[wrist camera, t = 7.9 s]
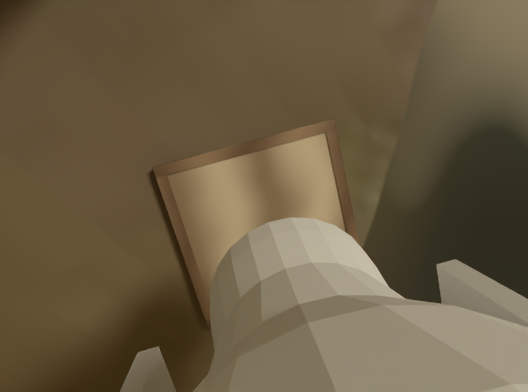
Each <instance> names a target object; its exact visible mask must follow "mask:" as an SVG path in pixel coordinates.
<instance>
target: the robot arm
mask: <svg viewBox="0 0 528 392" xmlns="http://www.w3.org/2000/svg"><path fill="white" fill-rule="evenodd" d="M437 271H438V279H439V286H440V292H441V299H442V304H446V305H454V306H458V307H461V308H465V309H468V310H471V311H475V312H478V313H482V314H485V315H489V316H492V317H496V318H499V319H502V320H506V321H509V322H513V323H516V324H519V325H522V326H525V327H527V328H528V299H526V298H524V297H523V296H521V295H519V294H517V293H515V292H514V291H512V290H510V289H508V288H506V287H505V286H503V285H501V284H499V283H497V282H496V281H494V280H492V279H490V278H488V277H486V276H485V275H483V274H481V273H479V272H478V271H476V270H474V269H472V268H470V267H469V266H467V265H465V264H463V263H461V262H460V261H458V260H456V259H455V260H451V261H448V262H445V263H441V264H438V265H437ZM120 392H176V390H175V387H174V385H173V382H172V379H171V377H170V374H169V372H168V369H167V367H166V364H165V362H164V359H163V357H162V354H161V351H160V349H159V346H158V347H154V348H151V349H147V350H144V351H140V352H138V353H137V355H136V357H135V359H134V362H133V364H132V366H131V368H130V370H129V373H128V375H127V377H126V379H125V381H124V383H123V386H122V388H121V390H120Z"/></svg>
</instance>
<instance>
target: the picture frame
mask: <svg viewBox="0 0 528 392" xmlns="http://www.w3.org/2000/svg"><path fill="white" fill-rule="evenodd" d="M153 171H154V174H155V177H156V179H157V182H158V185H159V188H160V191H161V194H162V197H163V200H164V203H165V205H166V208H167V211H168V214H169V217H170V220H171V223H172V226H173V229H174V231H175V234H176V237H177V240H178V243H179V246H180V249H181V252H182V255H183V257H184V260H185V263H186V266H187V269H188V272H189V275H190V278H191V281H192V283H193V286H194V289H195V292H196V295H197V298H198V301H199V304H200V307H201V309H202V312H203V315H204V318H205V321H206V324H207V327H208V329H210V328H211V320H210V293H211V284H212V281H213V278H214V275H215V272H216V269H217V266H218V265H219V263H220V262H221V260H222V259H223V257H224V256H225V254H226V253H227V251H228V250H229V248H230V247H231V246H233V245H234V244H235V243H236V242H237V241H238V240H239V239H241V238H242V237H243V236H244V235H245V234H246V233H248V232H250V231H252V230H254V229H256V228H258V227H260V226H262V225H264V224H266V223H268V222H272V221H276V220H281V219H285V218H290V217H294V218H314V219H317V220H320V221H323V222H327V223H330V224H333V225H335V226H337V227H338V228H340V229H341V230H343V231H344V232H346V233H347V234H349V235H350V236H352V237H353V239H354V240H355V241H356V242H357V243H358V245H359V240H358V235H357V230H356V225H355V220H354V215H353V210H352V205H351V200H350V195H349V190H348V185H347V181H346V176H345V171H344V166H343V161H342V156H341V151H340V146H339V141H338V136H337V131H336V126H335V121H334V119H331V120H327V121H324V122H320V123H316V124H313V125H309V126H305V127H301V128H298V129H294V130H290V131H286V132H283V133H279V134H275V135H272V136H268V137H264V138H260V139H257V140H253V141H249V142H245V143H242V144H238V145H234V146H231V147H227V148H223V149H219V150H216V151H212V152H208V153H205V154H201V155H197V156H193V157H190V158H186V159H182V160H178V161H175V162H171V163H167V164H164V165H160V166H156V167H153ZM359 246H360V245H359Z"/></svg>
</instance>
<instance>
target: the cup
mask: <svg viewBox="0 0 528 392" xmlns="http://www.w3.org/2000/svg"><path fill="white" fill-rule="evenodd" d="M210 320H211V330H212V337H213V344H214V351H215V353H214V356H213V360H212V363H211V367H210V370H209V374H208V375H207V376H206V377H205V378H204V379H203V381H202V382H201V383H200V384H199V385H198V386H197V387H196V388H195V389H194V391H193V392H528V328H527V327H525V326H522V325H519V324H516V323H513V322H509V321H506V320H502V319H499V318H496V317H492V316H489V315H485V314H482V313H478V312H475V311H471V310H468V309H465V308H461V307H458V306H454V305H446V304H438V303H431V302H424V301H416V300H409V299H405V298H403V297H402V296H401V295H399V294H398V293H396V292H394V291H393V290H392V289H390V288H389V287H388V285H387V284H386V282H385V281H384V279H383V277H382V276H381V274H380V272H379V271H378V269H377V268H376V266H375V265H374V263H373V262H372V261H371V259H370V258H369V257H368V256H367V254H366V253H365V252H364V250H363V249H362V248H361V247H360V246H359V245H358V243H357V242H356V241H355V240H354V239H353V237H352V236H350V235H349V234H347V233H346V232H344V231H343V230H341V229H340V228H338V227H337V226H335V225H333V224H330V223H327V222H323V221H320V220H317V219H314V218H294V217H290V218H285V219H281V220H276V221H272V222H268V223H266V224H264V225H262V226H260V227H258V228H256V229H254V230H252V231H250V232H248V233H246V234H245V235H244V236H243V237H242V238H241V239H239V240H238V241H237V242H236V243H235V244H234V245H233V246H231V247H230V248H229V250H228V251H227V253H226V254H225V256H224V257H223V259H222V260H221V262H220V263H219V265H218V266H217V269H216V272H215V275H214V278H213V281H212V284H211V293H210Z"/></svg>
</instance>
